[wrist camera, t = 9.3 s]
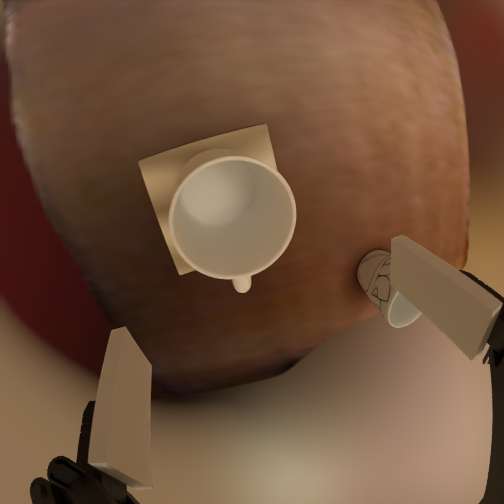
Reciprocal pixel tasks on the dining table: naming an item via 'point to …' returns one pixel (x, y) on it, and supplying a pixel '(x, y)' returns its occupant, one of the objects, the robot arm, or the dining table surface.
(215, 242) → the mug
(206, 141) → the peg stand
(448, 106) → the dining table surface
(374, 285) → the mug
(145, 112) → the dining table surface
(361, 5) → the dining table surface
